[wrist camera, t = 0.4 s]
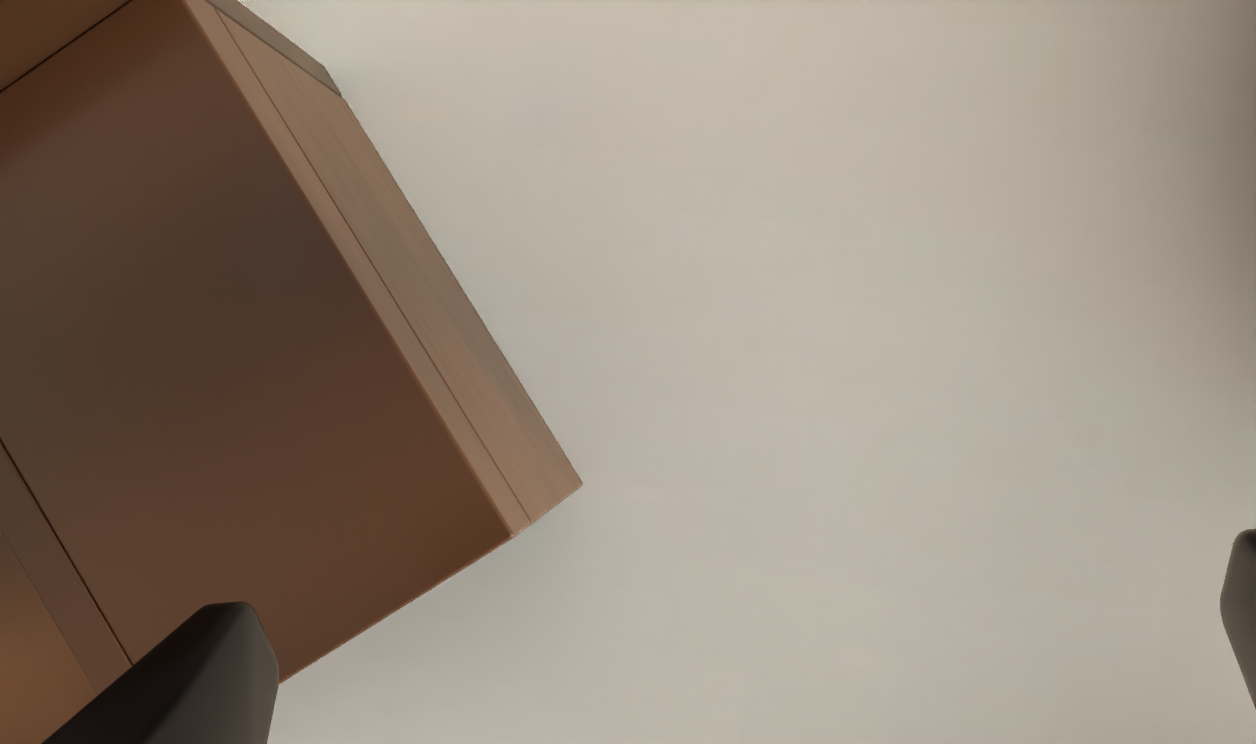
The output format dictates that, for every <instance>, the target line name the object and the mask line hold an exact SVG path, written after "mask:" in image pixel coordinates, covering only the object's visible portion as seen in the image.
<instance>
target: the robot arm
mask: <svg viewBox="0 0 1256 744" xmlns="http://www.w3.org/2000/svg"><path fill="white" fill-rule="evenodd" d="M1220 610H1221V616H1222V621H1223V624H1224V627H1225V630H1226V633H1227V635H1228V638H1229V640H1230V643H1231V646H1232V648H1233V651H1234V653H1235V656H1236V659H1237V661H1238V664H1239V667H1240V669H1241V672H1242V674H1243V677H1244V680H1245V682H1246V685H1247V687H1248V690H1249V693H1250V695H1251V698H1252V701H1253V703H1254V706H1255V708H1256V529H1249V530H1245V531H1242V532H1241V533H1239V534H1238V536H1237V537H1236V538H1235V541H1234V543H1233V547H1232V551H1231V555H1230V559H1229V563H1228V568H1227V572H1226V576H1225V580H1224V584H1223V588H1222V592H1221V598H1220ZM278 683H279V667H278V662H277V659H276V656H275V654H274V651H273V649H272V647H271V645H270V642H269V640H268V638H267V636H266V633H265V631H264V629H263V627H262V624H261V622H260V620H259V618H258V615H257V613H256V611H255V610H254V608H253V607H252V606H251V605H250V604H248V603H247V602H242V601H238V602H224V603H212V604H208V605H205V606H203V607H202V608H200V609H199V610H197V611H196V612H195V613H194V614H193V615H192V616H190V617H189V618H188V619H187V620H186V621H184V622H183V623H182V624H181V625H180V626H179V627H177V628H176V629H175V630H174V631H173V632H172V633H170V634H169V635H168V636H167V637H166V638H165V639H163V640H162V641H161V642H160V643H159V644H157V645H156V646H155V647H154V648H153V649H152V650H150V651H149V652H148V653H147V654H146V655H145V656H143V657H142V658H141V659H140V660H139V661H138V662H136V663H135V664H134V665H133V666H132V667H130V668H129V669H128V670H127V671H126V672H125V673H123V674H122V675H121V676H120V677H119V678H118V679H116V680H115V681H114V682H113V683H112V684H111V685H109V686H108V687H107V688H106V689H105V690H104V691H102V692H101V693H100V694H99V695H98V696H96V697H95V698H94V699H93V700H92V701H91V702H89V703H88V704H87V705H86V706H85V707H84V708H82V709H81V710H80V711H79V712H78V713H77V714H75V715H74V716H73V717H72V718H71V719H69V720H68V721H67V722H66V723H65V724H64V725H62V726H61V727H60V728H59V729H58V730H57V731H55V732H54V733H53V734H52V735H51V736H50V737H48V738H47V739H46V740H45V741H44V742H42V743H41V744H267V740H268V735H269V729H270V724H271V719H272V714H273V709H274V704H275V699H276V694H277V689H278Z"/></svg>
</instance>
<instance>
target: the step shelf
mask: <svg viewBox="0 0 1256 744" xmlns="http://www.w3.org/2000/svg"><path fill="white" fill-rule="evenodd" d="M581 486H582V481H581V479H580V478H579V476H578V474H577V473H576V471H575V470H574V468H573V466H572V465H571V463H570V462H569V460H568V458H567V457H566V455H565V454H564V452H563V450H562V449H561V447H560V445H559V444H558V442H557V441H556V439H555V437H554V436H553V434H552V433H551V431H550V429H549V428H548V426H547V425H546V423H545V421H544V420H543V418H542V416H541V415H540V413H539V412H538V410H537V408H536V407H535V405H534V404H533V402H532V400H531V399H530V397H529V396H528V394H527V392H526V391H525V389H524V387H523V386H522V384H521V383H520V381H519V379H518V378H517V376H516V375H515V373H514V371H513V370H512V368H511V367H510V365H509V363H508V362H507V360H506V359H505V357H504V355H503V354H502V352H501V350H500V349H499V347H498V346H497V344H496V342H495V341H494V339H493V338H492V336H491V334H490V333H489V331H488V330H487V328H486V326H485V325H484V323H483V321H482V320H481V318H480V317H479V315H478V313H477V312H476V310H475V309H474V307H473V305H472V304H471V302H470V301H469V299H468V297H467V296H466V294H465V292H464V291H463V289H462V288H461V286H460V284H459V283H458V281H457V280H456V278H455V276H454V275H453V273H452V272H451V270H450V268H449V267H448V265H447V263H446V262H445V260H444V259H443V257H442V255H441V254H440V252H439V251H438V249H437V247H436V246H435V244H434V243H433V241H432V239H431V238H430V236H429V235H428V233H427V231H426V230H425V228H424V226H423V225H422V223H421V222H420V220H419V218H418V217H417V215H416V214H415V212H414V210H413V209H412V207H411V206H410V204H409V202H408V201H407V199H406V197H405V196H404V194H403V193H402V191H401V189H400V188H399V186H398V185H397V183H396V181H395V180H394V178H393V177H392V175H391V173H390V172H389V170H388V168H387V167H386V165H385V164H384V162H383V160H382V159H381V157H380V156H379V154H378V152H377V151H376V149H375V148H374V146H373V144H372V143H371V141H370V140H369V138H368V136H367V135H366V133H365V131H364V130H363V128H362V127H361V125H360V123H359V122H358V120H357V119H356V117H355V115H354V114H353V112H352V111H351V109H350V107H349V106H348V104H347V102H346V101H345V100H344V99H343V98H342V95H341V93H340V91H339V90H338V88H337V87H336V85H335V83H334V82H333V80H332V78H331V77H330V75H329V74H328V72H327V70H326V69H325V67H324V66H323V65H322V64H320V63H319V62H318V61H316V60H315V59H314V58H312V57H311V56H310V55H308V54H307V53H306V52H304V51H303V50H302V49H300V48H299V47H298V46H296V45H295V44H294V43H293V42H291V41H290V40H289V39H287V38H286V37H285V36H283V35H282V34H281V33H279V32H278V31H277V30H275V29H274V28H273V27H271V26H270V25H269V24H267V23H266V22H265V21H263V20H262V19H261V18H259V17H258V16H257V15H255V14H254V13H253V12H251V11H250V10H249V9H248V8H246V7H245V6H244V5H242V4H241V3H240V2H238V1H237V0H0V744H41V743H42V742H44V741H45V740H46V739H47V738H48V737H50V736H51V735H52V734H53V733H54V732H55V731H57V730H58V729H59V728H60V727H61V726H62V725H64V724H65V723H66V722H67V721H68V720H69V719H71V718H72V717H73V716H74V715H75V714H77V713H78V712H79V711H80V710H81V709H82V708H84V707H85V706H86V705H87V704H88V703H89V702H91V701H92V700H93V699H94V698H95V697H96V696H98V695H99V694H100V693H101V692H102V691H104V690H105V689H106V688H107V687H108V686H109V685H111V684H112V683H113V682H114V681H115V680H116V679H118V678H119V677H120V676H121V675H122V674H123V673H125V672H126V671H127V670H128V669H129V668H130V667H132V666H133V665H134V664H135V663H136V662H138V661H139V660H140V659H141V658H142V657H143V656H145V655H146V654H147V653H148V652H149V651H150V650H152V649H153V648H154V647H155V646H156V645H157V644H159V643H160V642H161V641H162V640H163V639H165V638H166V637H167V636H168V635H169V634H170V633H172V632H173V631H174V630H175V629H176V628H177V627H179V626H180V625H181V624H182V623H183V622H184V621H186V620H187V619H188V618H189V617H190V616H192V615H193V614H194V613H195V612H196V611H197V610H199V609H200V608H202V607H203V606H205V605H208V604H212V603H224V602H238V601H242V602H247V603H248V604H250V605H251V606H252V607H253V608H254V610H255V611H256V613H257V615H258V618H259V620H260V622H261V624H262V627H263V629H264V631H265V633H266V636H267V638H268V640H269V642H270V645H271V647H272V649H273V651H274V654H275V656H276V659H277V662H278V667H279V683H278V685H279V684H280V683H282V682H284V681H285V680H287V679H288V678H290V677H292V676H293V675H295V674H296V673H298V672H300V671H301V670H303V669H304V668H306V667H308V666H309V665H311V664H312V663H314V662H316V661H317V660H319V659H320V658H322V657H324V656H325V655H327V654H328V653H330V652H332V651H333V650H335V649H336V648H338V647H340V646H341V645H343V644H344V643H346V642H348V641H349V640H351V639H352V638H354V637H356V636H357V635H359V634H360V633H362V632H364V631H365V630H367V629H368V628H370V627H372V626H373V625H375V624H376V623H378V622H380V621H381V620H383V619H384V618H386V617H388V616H389V615H391V614H392V613H394V612H396V611H397V610H399V609H400V608H402V607H404V606H405V605H407V604H408V603H410V602H412V601H413V600H415V599H416V598H418V597H420V596H421V595H423V594H424V593H426V592H428V591H429V590H431V589H432V588H434V587H436V586H437V585H439V584H440V583H442V582H444V581H445V580H447V579H448V578H450V577H452V576H453V575H455V574H456V573H458V572H460V571H461V570H463V569H464V568H466V567H468V566H469V565H471V564H472V563H474V562H476V561H477V560H479V559H480V558H482V557H483V556H485V555H487V554H488V553H490V552H491V551H493V550H495V549H496V548H498V547H499V546H501V545H503V544H504V543H506V542H507V541H509V540H511V539H512V538H514V537H515V536H516V535H518V534H519V533H520V532H522V531H523V530H524V529H525V528H527V527H528V526H529V525H531V524H532V523H533V522H535V521H536V520H537V519H539V518H540V517H541V516H543V515H544V514H545V513H547V512H548V511H549V510H551V509H552V508H553V507H555V506H556V505H557V504H559V503H560V502H561V501H563V500H564V499H565V498H566V497H568V496H569V495H570V494H572V493H573V492H574V491H576V490H577V489H578V488H580V487H581Z"/></svg>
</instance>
